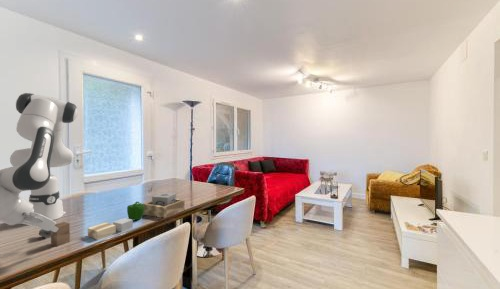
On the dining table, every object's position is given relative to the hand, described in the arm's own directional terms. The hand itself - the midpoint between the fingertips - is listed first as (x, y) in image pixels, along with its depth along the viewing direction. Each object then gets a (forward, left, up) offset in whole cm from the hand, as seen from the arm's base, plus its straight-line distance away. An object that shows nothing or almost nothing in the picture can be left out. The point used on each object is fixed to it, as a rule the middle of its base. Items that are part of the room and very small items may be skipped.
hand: (49, 228), depth 91 cm
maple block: (+8, +16, -8) cm, 20 cm away
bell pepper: (+5, +37, -8) cm, 38 cm away
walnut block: (0, +4, -8) cm, 8 cm away
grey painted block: (+10, +25, -8) cm, 28 cm away
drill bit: (-13, +5, -8) cm, 16 cm away
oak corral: (+10, +53, -8) cm, 54 cm away
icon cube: (+9, +54, -8) cm, 55 cm away
